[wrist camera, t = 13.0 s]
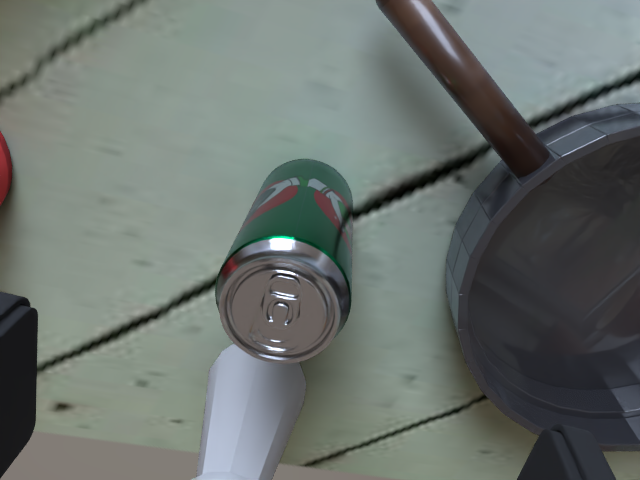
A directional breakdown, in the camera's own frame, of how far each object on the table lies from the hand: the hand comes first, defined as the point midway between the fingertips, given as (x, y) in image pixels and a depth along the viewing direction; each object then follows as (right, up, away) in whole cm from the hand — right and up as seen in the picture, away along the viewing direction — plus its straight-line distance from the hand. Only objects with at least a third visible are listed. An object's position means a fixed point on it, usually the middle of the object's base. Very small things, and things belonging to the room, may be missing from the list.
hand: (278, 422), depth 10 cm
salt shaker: (-3, -4, +25) cm, 25 cm away
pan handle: (+7, +11, +15) cm, 20 cm away
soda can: (0, +6, +21) cm, 21 cm away
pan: (+17, +2, +21) cm, 27 cm away
